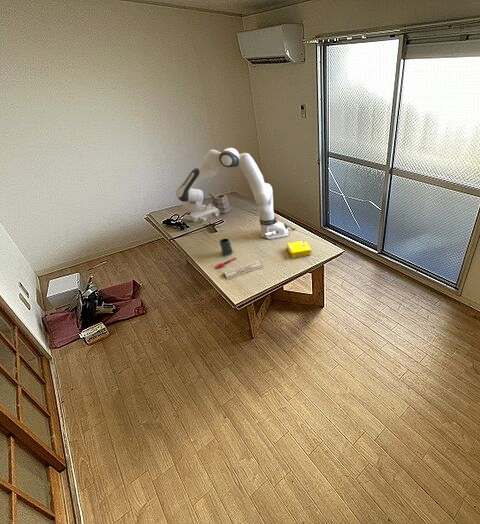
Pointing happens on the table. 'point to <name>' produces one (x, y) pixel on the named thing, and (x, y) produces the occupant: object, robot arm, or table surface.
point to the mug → (225, 246)
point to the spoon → (223, 263)
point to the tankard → (220, 203)
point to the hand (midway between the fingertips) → (211, 218)
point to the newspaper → (242, 269)
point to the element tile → (299, 249)
